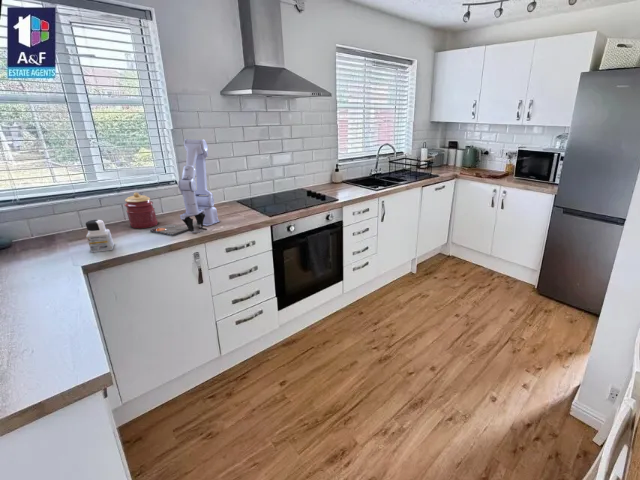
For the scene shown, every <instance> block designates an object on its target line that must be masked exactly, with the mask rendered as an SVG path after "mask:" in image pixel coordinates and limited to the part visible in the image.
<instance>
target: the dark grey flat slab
mask: <svg viewBox="0 0 640 480" xmlns="http://www.w3.org/2000/svg"><path fill="white" fill-rule="evenodd" d="M188 231H189V229H188V227H187V226H182V225H177V224H171V223H168V224H165V225H161V226H159V227H156V228H153V229H150V233H154V234H159V235H165V236H172V237H174V236H177V235H180V234H182V233H183V234H184V233H185V232H188ZM189 232H190V231H189Z"/></svg>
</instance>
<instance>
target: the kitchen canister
mask: <svg viewBox="0 0 640 480" xmlns="http://www.w3.org/2000/svg"><path fill="white" fill-rule="evenodd" d="M124 201H125V203H124V207H125V208H126V211H125V213H126V214H127V218H128V221H129V222H128V223H129V225H130V227H131V228H133V229H147V228H152V227H155V226H157V225H158V223H159V221H158V218H157V215H156V214H157V213H156V211H155V210H156V209H155V207H154V206H153V204H154V202H153V200H151V198H150V197H149V196H147V195H144V194H143V195H142V194H140V193H139V192H136V191H135V192H134V193H133V195H131V196H128V197H127V198H125V200H124Z"/></svg>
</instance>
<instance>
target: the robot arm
mask: <svg viewBox="0 0 640 480" xmlns="http://www.w3.org/2000/svg"><path fill="white" fill-rule="evenodd" d="M183 147H184V150H185V152H186V162H185V163H186V164H185V165H184V166H183V167H182V173H181V179H180V180H178V183H177V185H178V190H179V191H180V194H181V195H182V198H183V204H184V208H185V212H184V213H182V214H179V218H180V220H181V221H182V222H183V223H184V224H185V225H186V227H188V229H189V232H191V231H193V223H194V218H195V220H196V223H201V228H204V227H203V226H205V227H209V226H212V225H214V224H218V223H220V222H221V221H220V220H219V215H218V210H217V208H216V207H215V198H214V194H213V193H212V192H211V191H210V190H208V179H207V163H206V160H207V159H206V158H208V157H209V146H208V143H207V141H206V140H205V139H203V138H202V139H198V138H197V139H196V138H185V139H184V141H183ZM191 217H194V218H191Z"/></svg>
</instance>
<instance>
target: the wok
mask: <svg viewBox="0 0 640 480" xmlns="http://www.w3.org/2000/svg"><path fill="white" fill-rule="evenodd" d="M202 231H208V228H207V227H203V228H201V223H197V222H193V231H190V232H192V233H193V234H199V233H201V232H202Z"/></svg>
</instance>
